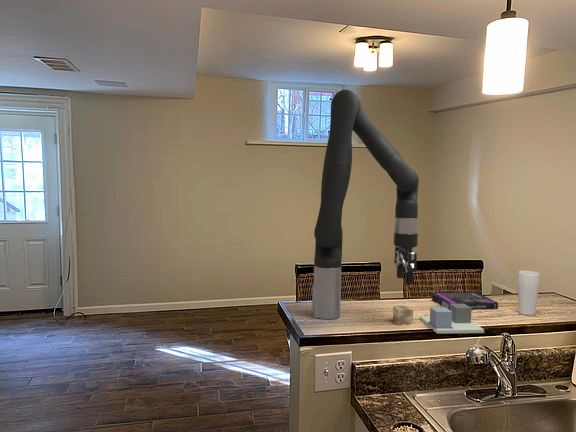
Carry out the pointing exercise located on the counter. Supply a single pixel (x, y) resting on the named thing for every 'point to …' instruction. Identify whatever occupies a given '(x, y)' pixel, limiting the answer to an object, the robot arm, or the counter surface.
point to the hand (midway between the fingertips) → (404, 280)
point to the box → (464, 300)
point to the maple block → (403, 315)
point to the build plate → (457, 327)
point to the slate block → (441, 317)
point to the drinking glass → (528, 292)
